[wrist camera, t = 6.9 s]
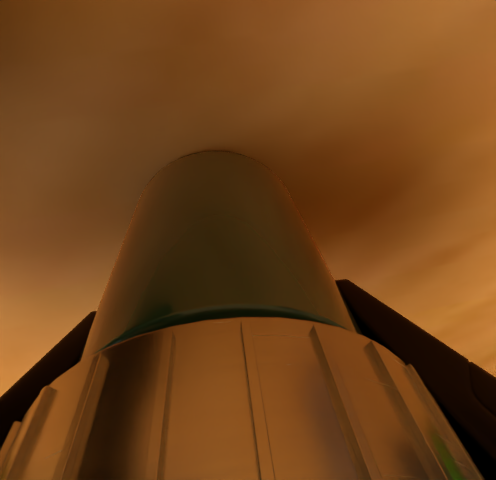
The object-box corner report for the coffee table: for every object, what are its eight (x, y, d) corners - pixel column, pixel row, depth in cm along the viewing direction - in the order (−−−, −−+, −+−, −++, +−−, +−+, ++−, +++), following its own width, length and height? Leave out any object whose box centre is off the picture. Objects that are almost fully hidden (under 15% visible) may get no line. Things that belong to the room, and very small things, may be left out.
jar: (99, 215, 11) (-158, 674, 3) (235, 112, 10) (364, 450, 2) (204, 309, 14) (205, 679, 6) (320, 238, 13) (517, 588, 5)
